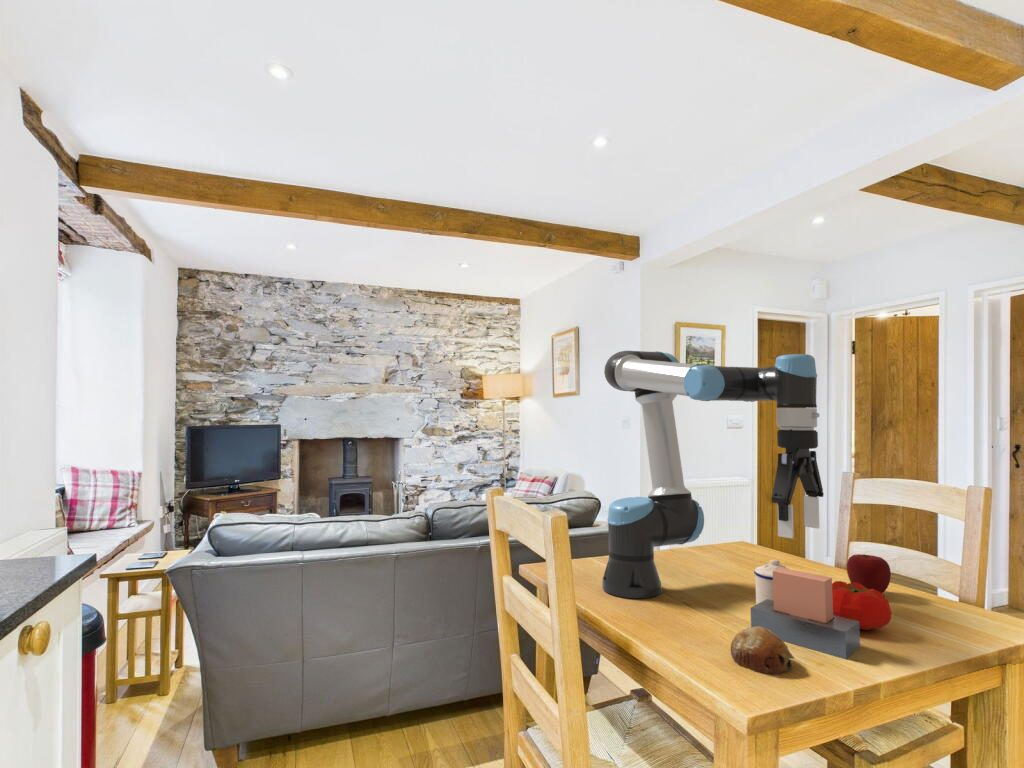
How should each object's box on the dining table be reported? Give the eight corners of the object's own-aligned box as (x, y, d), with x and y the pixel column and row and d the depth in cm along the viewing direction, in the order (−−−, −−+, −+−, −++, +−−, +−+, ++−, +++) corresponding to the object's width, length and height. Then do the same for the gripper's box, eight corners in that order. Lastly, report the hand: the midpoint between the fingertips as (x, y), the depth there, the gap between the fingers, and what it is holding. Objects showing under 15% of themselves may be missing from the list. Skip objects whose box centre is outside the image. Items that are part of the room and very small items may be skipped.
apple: (867, 586, 148) (866, 548, 148) (901, 598, 138) (899, 557, 139) (838, 589, 145) (837, 551, 146) (871, 601, 136) (869, 560, 137)
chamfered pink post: (774, 624, 116) (772, 571, 117) (782, 620, 119) (780, 567, 119) (826, 639, 109) (824, 581, 109) (833, 633, 111) (831, 577, 112)
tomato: (887, 644, 111) (885, 599, 111) (817, 629, 119) (815, 587, 119) (896, 624, 121) (895, 583, 122) (831, 611, 129) (829, 573, 130)
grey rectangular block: (751, 631, 118) (750, 607, 118) (767, 622, 123) (766, 599, 123) (846, 659, 104) (845, 631, 104) (860, 647, 110) (859, 621, 110)
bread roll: (765, 670, 108) (749, 626, 112) (809, 665, 100) (791, 618, 104) (730, 681, 103) (714, 635, 107) (773, 678, 95) (755, 628, 99)
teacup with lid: (792, 620, 124) (790, 567, 124) (749, 611, 129) (748, 560, 130) (805, 606, 133) (803, 556, 134) (765, 598, 139) (763, 551, 139)
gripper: (791, 430, 105) (794, 545, 104) (837, 428, 121) (840, 526, 121) (752, 429, 110) (754, 538, 109) (801, 427, 127) (803, 521, 126)
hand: (799, 532), depth 115 cm, fingers open, 13 cm apart
